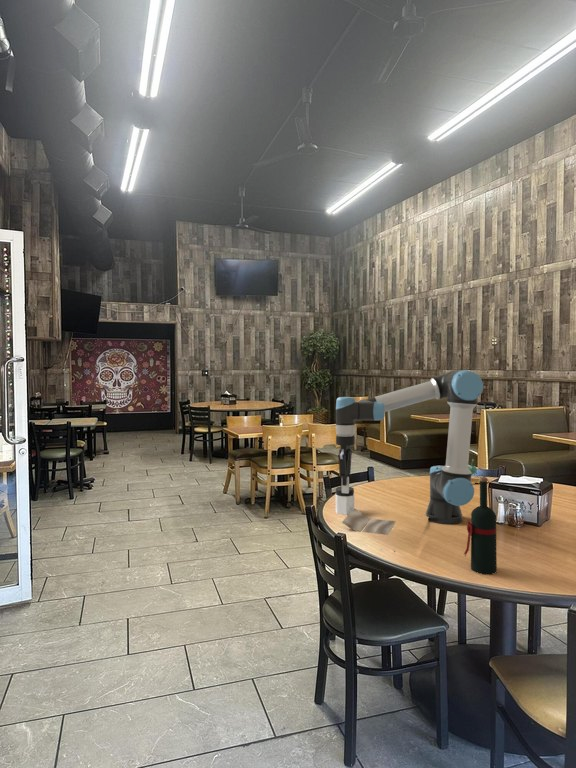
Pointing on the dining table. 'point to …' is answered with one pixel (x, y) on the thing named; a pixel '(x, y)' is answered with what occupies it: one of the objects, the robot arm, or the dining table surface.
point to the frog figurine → (474, 470)
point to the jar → (344, 501)
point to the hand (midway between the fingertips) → (345, 492)
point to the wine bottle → (482, 535)
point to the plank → (356, 520)
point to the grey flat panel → (383, 528)
